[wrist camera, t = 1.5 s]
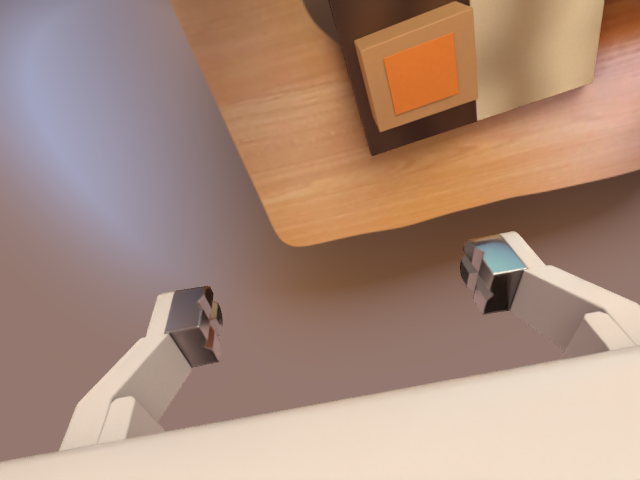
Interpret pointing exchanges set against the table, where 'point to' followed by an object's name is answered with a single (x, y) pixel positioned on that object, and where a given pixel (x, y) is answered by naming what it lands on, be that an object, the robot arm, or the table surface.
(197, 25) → the table surface
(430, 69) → the coffee packet
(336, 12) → the board
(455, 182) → the table surface
